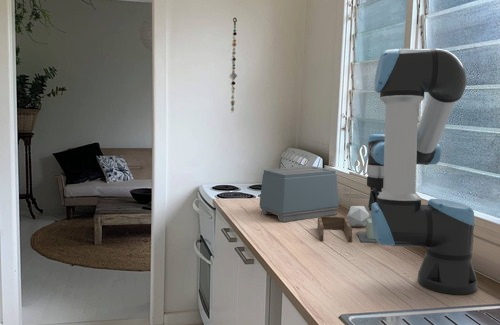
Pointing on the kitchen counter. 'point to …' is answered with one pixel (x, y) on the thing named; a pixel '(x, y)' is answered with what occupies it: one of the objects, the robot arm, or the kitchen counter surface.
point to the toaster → (299, 193)
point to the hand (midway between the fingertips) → (375, 232)
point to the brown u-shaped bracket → (334, 225)
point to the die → (357, 216)
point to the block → (369, 229)
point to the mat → (365, 238)
